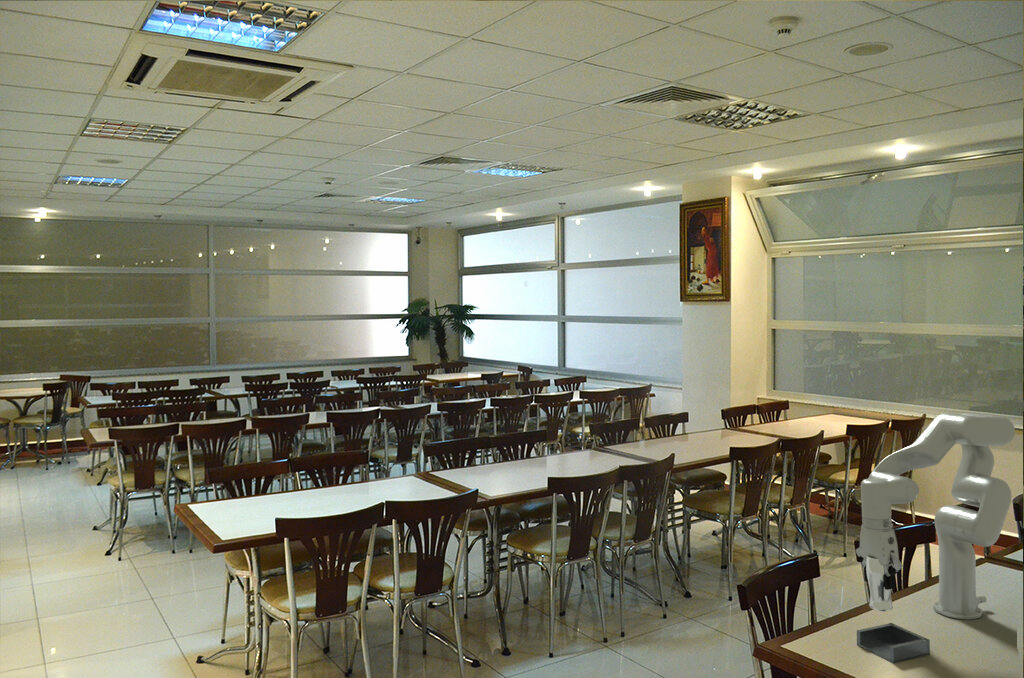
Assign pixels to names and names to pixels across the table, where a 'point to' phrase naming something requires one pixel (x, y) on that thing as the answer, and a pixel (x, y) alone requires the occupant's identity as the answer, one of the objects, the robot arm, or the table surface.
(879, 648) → the grey tray
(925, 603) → the table surface
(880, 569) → the beer glass
